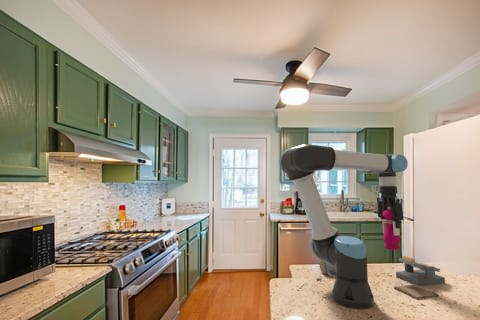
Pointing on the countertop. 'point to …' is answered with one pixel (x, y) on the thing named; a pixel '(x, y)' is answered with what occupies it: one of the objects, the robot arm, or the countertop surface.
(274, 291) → the countertop surface
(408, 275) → the switch housing
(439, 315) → the countertop surface
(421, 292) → the coaster
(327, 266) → the ceramic mug
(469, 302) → the countertop surface
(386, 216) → the pepper mill
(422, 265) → the breaker rocker
